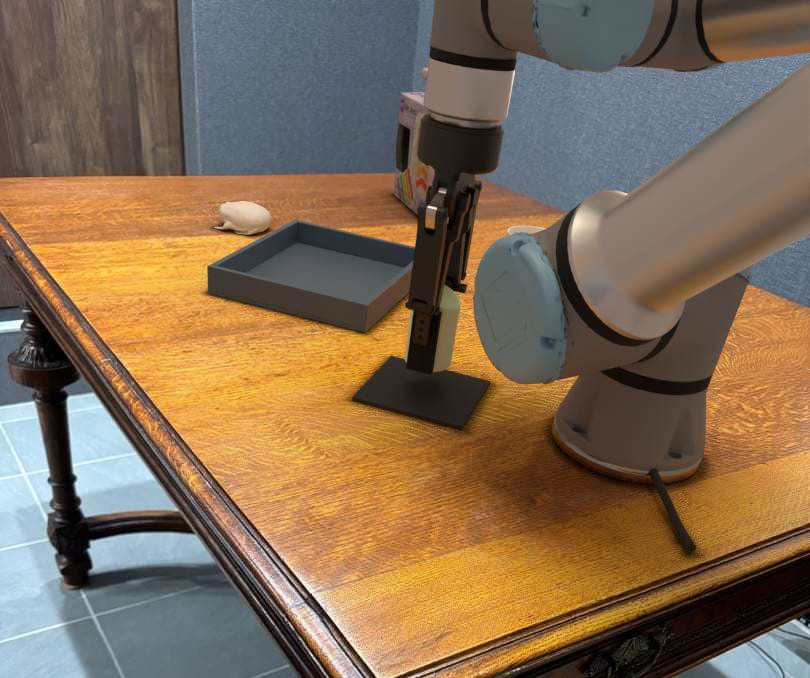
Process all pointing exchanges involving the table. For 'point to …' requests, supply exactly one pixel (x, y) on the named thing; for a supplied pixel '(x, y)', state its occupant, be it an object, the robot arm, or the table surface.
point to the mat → (423, 393)
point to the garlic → (244, 217)
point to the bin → (317, 274)
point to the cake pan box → (411, 153)
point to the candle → (443, 329)
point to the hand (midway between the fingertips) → (427, 359)
